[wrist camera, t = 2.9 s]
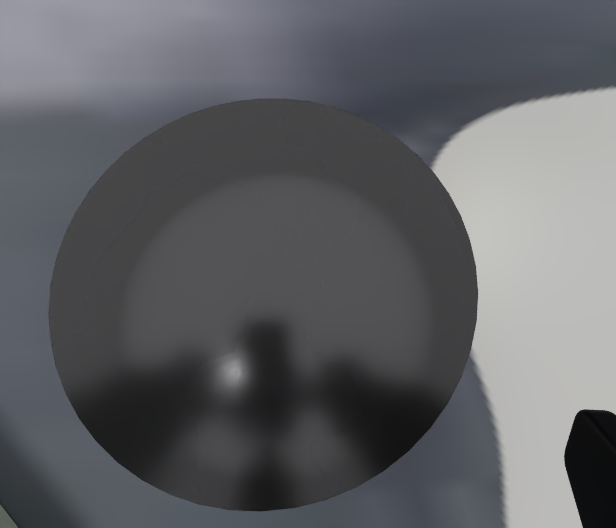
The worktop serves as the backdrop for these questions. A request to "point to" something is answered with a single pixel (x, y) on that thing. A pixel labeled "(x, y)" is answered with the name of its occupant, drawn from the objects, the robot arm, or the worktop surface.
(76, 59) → the worktop surface
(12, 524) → the tray
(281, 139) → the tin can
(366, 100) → the worktop surface
